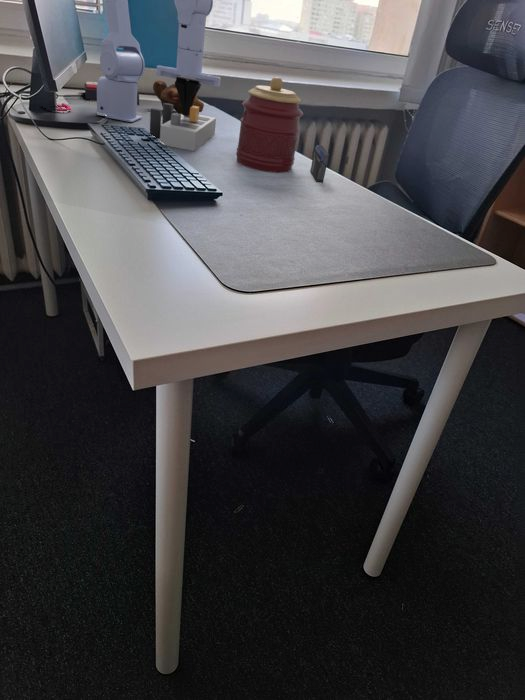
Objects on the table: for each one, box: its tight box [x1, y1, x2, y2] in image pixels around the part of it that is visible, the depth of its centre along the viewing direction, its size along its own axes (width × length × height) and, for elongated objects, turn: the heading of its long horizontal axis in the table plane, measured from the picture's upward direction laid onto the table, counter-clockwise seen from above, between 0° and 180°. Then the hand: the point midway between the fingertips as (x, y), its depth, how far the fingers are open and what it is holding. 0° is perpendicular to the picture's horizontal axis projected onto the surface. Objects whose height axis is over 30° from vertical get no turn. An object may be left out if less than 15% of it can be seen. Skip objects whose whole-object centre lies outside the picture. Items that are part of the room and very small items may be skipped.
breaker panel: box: [159, 112, 217, 152], centre depth 122 cm, size 8×22×6 cm, turn 172°
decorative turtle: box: [152, 80, 205, 114], centre depth 148 cm, size 10×15×8 cm, turn 88°
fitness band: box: [56, 103, 72, 111], centre depth 128 cm, size 8×6×2 cm
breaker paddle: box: [189, 106, 200, 122], centre depth 121 cm, size 2×3×3 cm, turn 172°
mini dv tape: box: [309, 144, 330, 184], centre depth 111 cm, size 8×2×6 cm, turn 4°
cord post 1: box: [149, 107, 162, 139], centre depth 118 cm, size 2×2×6 cm
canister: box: [235, 76, 304, 173], centre depth 110 cm, size 13×13×18 cm
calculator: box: [84, 81, 140, 106], centre depth 152 cm, size 11×4×15 cm
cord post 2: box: [161, 103, 174, 125], centre depth 127 cm, size 2×2×6 cm
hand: (185, 115), depth 121 cm, fingers closed
